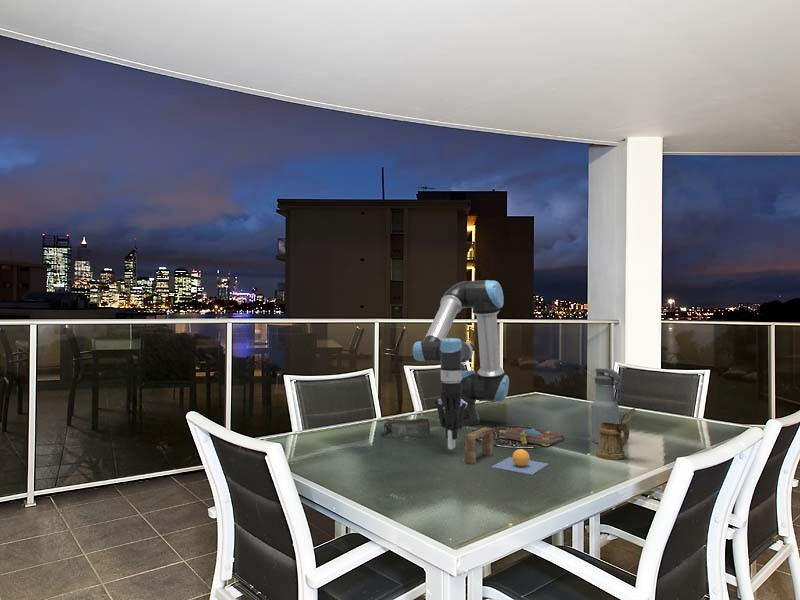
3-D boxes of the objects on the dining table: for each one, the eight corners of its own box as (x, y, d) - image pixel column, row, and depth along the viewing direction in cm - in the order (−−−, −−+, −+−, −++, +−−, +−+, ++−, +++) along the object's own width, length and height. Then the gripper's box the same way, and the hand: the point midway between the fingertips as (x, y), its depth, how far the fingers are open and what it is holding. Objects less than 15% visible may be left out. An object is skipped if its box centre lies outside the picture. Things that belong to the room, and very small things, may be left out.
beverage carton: (383, 433, 223) (383, 417, 223) (428, 433, 223) (428, 417, 224) (383, 437, 215) (383, 421, 215) (430, 437, 216) (430, 421, 216)
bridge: (464, 462, 179) (464, 435, 179) (485, 453, 191) (484, 427, 191) (472, 464, 177) (472, 436, 177) (492, 454, 189) (492, 428, 189)
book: (510, 434, 226) (510, 422, 226) (565, 443, 209) (565, 431, 209) (488, 438, 214) (488, 426, 214) (544, 449, 197) (545, 436, 197)
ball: (531, 466, 175) (515, 462, 178) (532, 449, 175) (516, 446, 178) (525, 470, 170) (509, 466, 173) (526, 452, 171) (510, 449, 174)
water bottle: (624, 442, 205) (623, 369, 206) (614, 446, 198) (613, 371, 199) (598, 437, 212) (597, 367, 213) (587, 442, 205) (586, 369, 206)
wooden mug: (629, 464, 176) (628, 409, 176) (591, 456, 186) (590, 404, 187) (642, 459, 181) (641, 406, 182) (604, 451, 192) (604, 401, 192)
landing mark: (509, 457, 185) (509, 456, 185) (548, 464, 176) (548, 463, 176) (491, 467, 173) (491, 466, 173) (532, 474, 165) (532, 474, 165)
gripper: (430, 381, 192) (430, 447, 191) (461, 384, 184) (462, 453, 183) (441, 379, 198) (441, 443, 197) (472, 381, 190) (472, 448, 190)
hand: (451, 448), depth 190 cm, fingers closed
